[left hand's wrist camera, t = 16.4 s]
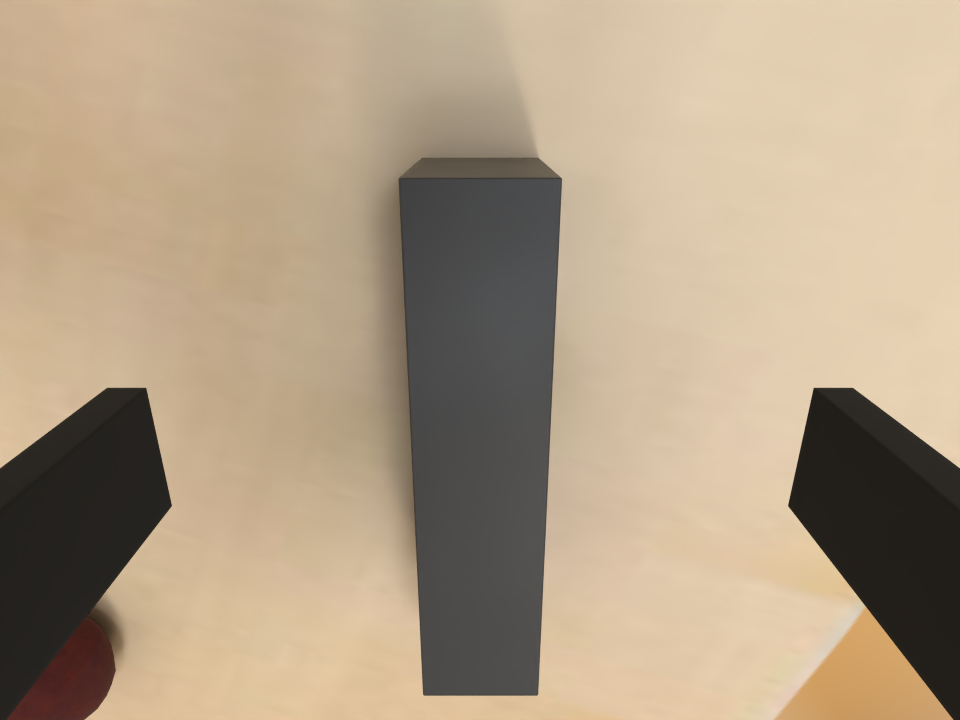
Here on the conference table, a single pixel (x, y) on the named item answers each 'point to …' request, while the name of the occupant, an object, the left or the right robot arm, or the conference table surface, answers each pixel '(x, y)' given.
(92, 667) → the dark red ball
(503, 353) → the box
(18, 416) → the conference table surface
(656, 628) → the conference table surface
